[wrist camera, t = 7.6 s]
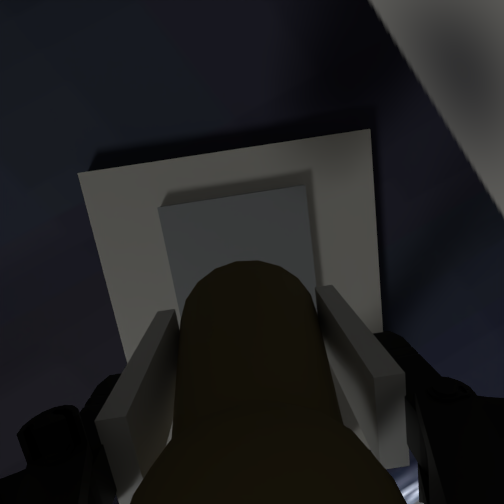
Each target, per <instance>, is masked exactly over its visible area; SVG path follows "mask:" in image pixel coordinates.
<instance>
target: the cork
mask: <svg viewBox="0 0 504 504" xmlns="http://www.w3.org/2000/svg"><path fill="white" fill-rule="evenodd" d="M130 504H407V503H406V501H405V499H404V497H403V496H402V494H401V492H400V490H399V488H398V486H397V484H396V482H395V480H394V479H393V477H392V476H391V475H390V474H389V473H388V471H387V470H386V469H385V468H384V467H383V466H382V464H381V463H380V462H379V461H378V460H377V458H376V457H375V456H374V455H373V454H372V452H371V451H370V450H369V449H368V448H367V447H366V446H365V444H364V443H363V442H362V441H361V440H360V439H359V438H358V436H357V435H356V434H355V433H354V432H353V431H352V430H351V429H350V428H348V427H346V426H344V425H343V421H342V416H341V412H340V408H339V404H338V399H337V395H336V391H335V387H334V382H333V378H332V374H331V370H330V365H329V361H328V357H327V353H326V348H325V344H324V340H323V336H322V331H321V327H320V323H319V319H318V315H317V311H316V308H315V305H314V302H313V299H312V296H311V294H310V293H309V291H308V290H307V289H306V287H305V286H304V285H303V284H302V282H301V281H300V280H299V279H298V278H297V277H296V276H294V275H293V274H291V273H290V272H288V271H287V270H285V269H284V268H282V267H281V266H278V265H274V264H271V263H267V262H263V261H259V260H252V261H235V262H232V263H230V264H227V265H224V266H221V267H218V268H216V269H214V270H213V271H211V272H210V273H209V274H208V275H206V276H205V277H204V278H202V279H201V280H200V281H198V282H197V284H196V285H195V287H194V288H193V290H192V291H191V293H190V294H189V296H188V297H187V299H186V301H185V305H184V308H183V312H182V316H181V320H180V333H179V346H178V360H177V373H176V386H175V399H174V412H173V425H172V438H171V440H170V441H169V443H168V444H167V446H166V447H165V448H164V450H163V451H162V452H161V454H160V455H159V457H158V458H157V459H156V461H155V462H154V464H153V465H152V466H151V468H150V469H149V471H148V472H147V474H146V475H145V477H144V479H143V480H142V482H141V483H140V485H139V486H138V488H137V490H136V491H135V493H134V494H133V496H132V499H131V502H130Z"/></svg>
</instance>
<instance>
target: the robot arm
mask: <svg viewBox="0 0 504 504" xmlns="http://www.w3.org/2000/svg"><path fill="white" fill-rule="evenodd" d="M315 295H316V304H317V313H318V319H319V323H320V327H321V331H322V336H323V340H324V344H325V348H326V353H327V357H328V360H329V362H330V365H331V367H332V369H333V371H334V373H335V375H336V377H337V379H338V381H339V384H340V386H341V388H342V390H343V392H344V394H345V396H346V398H347V400H348V402H349V405H350V407H351V409H352V411H353V413H354V415H355V417H356V419H357V421H358V423H359V426H360V428H361V430H362V432H363V434H364V436H365V438H366V440H367V442H368V445H369V447H370V449H371V451H372V453H373V455H374V456H375V457H376V458H377V460H378V461H379V462H380V463H381V464H382V466H383V467H384V468H385V469H390V468H397V467H403V466H409V448H410V450H411V452H412V453H413V455H414V457H415V458H416V460H417V461H418V481H419V502H422V503H424V504H504V398H494V397H484V396H477V395H476V393H475V392H474V391H473V390H472V389H471V388H470V387H469V386H468V385H466V384H464V383H463V382H461V381H458V380H455V379H452V378H449V377H441V376H440V375H439V374H438V373H437V371H436V370H435V369H434V368H433V367H432V366H431V365H430V364H429V363H428V362H427V361H426V360H425V359H424V358H423V357H422V356H421V355H420V354H418V352H417V351H416V350H415V349H414V348H413V347H411V345H410V344H409V343H408V342H407V341H406V340H405V339H404V338H403V337H401V336H399V335H397V334H395V333H393V332H391V331H386V332H380V333H372V332H371V331H370V330H369V329H368V327H367V326H366V325H365V324H364V323H363V321H362V320H361V319H360V318H359V317H358V315H357V314H356V313H355V312H354V310H353V309H352V308H351V307H350V306H349V304H348V303H347V302H346V301H345V300H344V298H343V297H342V296H341V295H340V294H339V292H338V291H337V290H336V289H335V287H334V286H333V285H326V286H320V287H315ZM179 333H180V329H179V325H178V320H177V315H176V311H175V309H170V310H164V311H157V313H156V315H155V317H154V318H153V320H152V322H151V324H150V325H149V327H148V329H147V331H146V332H145V334H144V336H143V338H142V339H141V341H140V343H139V345H138V346H137V348H136V350H135V351H134V353H133V355H132V357H131V358H130V360H129V362H128V364H127V365H126V367H125V369H124V371H123V372H122V374H115V375H109V376H108V377H107V378H106V379H105V380H104V381H102V382H101V383H100V384H99V385H98V386H97V387H96V389H95V390H94V392H93V393H92V395H91V398H89V399H88V401H87V402H86V404H85V407H84V408H83V409H82V410H81V412H80V413H79V410H78V408H76V407H75V406H73V405H63V406H58V407H54V408H52V409H49V410H47V411H44V412H42V413H40V414H39V415H37V416H35V417H34V418H32V419H31V420H29V421H28V422H27V423H26V424H25V425H24V426H22V428H21V429H20V431H19V432H18V433H17V437H18V440H19V443H20V445H21V448H22V451H23V453H24V456H25V459H26V462H27V467H26V469H25V470H22V471H20V472H17V473H15V474H12V475H10V476H7V477H4V478H2V479H0V504H112V503H113V500H114V497H115V495H117V498H118V501H119V504H130V502H131V499H132V496H133V494H134V493H135V491H136V490H137V488H138V486H139V485H140V483H141V482H142V480H143V479H144V477H145V475H146V474H147V472H148V471H149V469H150V468H151V466H152V465H153V464H154V462H155V461H156V459H157V458H158V457H159V455H160V454H161V452H162V451H163V450H164V448H165V447H166V444H167V441H168V437H169V433H170V429H171V425H172V422H173V412H174V399H175V386H176V373H177V360H178V346H179Z"/></svg>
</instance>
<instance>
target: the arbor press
mask: <svg viewBox="0 0 504 504" xmlns="http://www.w3.org/2000/svg"><path fill="white" fill-rule="evenodd" d="M78 177H79V181H80V184H81V188H82V192H83V196H84V200H85V204H86V207H87V211H88V215H89V219H90V223H91V226H92V230H93V234H94V238H95V242H96V245H97V249H98V253H99V257H100V261H101V265H102V268H103V272H104V276H105V280H106V284H107V287H108V291H109V295H110V299H111V303H112V307H113V310H114V314H115V318H116V322H117V326H118V329H119V333H120V337H121V341H122V345H123V348H124V352H125V356H126V360H127V364H128V362H129V360H130V358H131V357H132V355H133V353H134V351H135V350H136V348H137V346H138V345H139V343H140V341H141V339H142V338H143V336H144V334H145V332H146V331H147V329H148V327H149V325H150V324H151V322H152V320H153V318H154V317H155V315H156V313H157V311H164V310H170V309H175V311H176V315H177V320H178V325H179V329H180V320H181V316H182V312H183V308H184V305H185V301H186V299H187V297H188V296H189V294H190V293H191V291H192V290H193V288H194V287H195V285H196V284H197V282H198V281H200V280H201V279H202V278H204V277H205V276H206V275H208V274H209V273H210V272H211V271H213V270H214V269H216V268H218V267H221V266H224V265H227V264H230V263H232V262H235V261H252V260H259V261H263V262H267V263H271V264H274V265H278V266H281V267H282V268H284V269H285V270H287V271H288V272H290V273H291V274H293V275H294V276H296V277H297V278H298V279H299V280H300V281H301V282H302V284H303V285H304V286H305V287H306V289H307V290H308V291H309V293H310V294H311V296H312V299H313V302H314V305H315V308H316V311H317V304H316V295H315V287H320V286H326V285H333V286H334V287H335V289H336V290H337V291H338V292H339V294H340V295H341V296H342V297H343V298H344V300H345V301H346V302H347V303H348V304H349V306H350V307H351V308H352V309H353V310H354V312H355V313H356V314H357V315H358V317H359V318H360V319H361V320H362V321H363V323H364V324H365V325H366V326H367V327H368V329H369V330H370V331H371V332H372V333H380V332H383V324H382V308H381V292H380V276H379V260H378V244H377V228H376V212H375V196H374V180H373V164H372V148H371V132H370V129H365V130H359V131H352V132H346V133H339V134H333V135H326V136H319V137H313V138H306V139H300V140H293V141H286V142H280V143H273V144H267V145H260V146H254V147H247V148H240V149H234V150H227V151H221V152H214V153H207V154H201V155H194V156H188V157H181V158H175V159H168V160H161V161H155V162H148V163H142V164H135V165H128V166H122V167H115V168H109V169H102V170H95V171H89V172H82V173H78ZM317 315H318V313H317ZM328 361H329V360H328ZM329 365H330V362H329ZM330 370H331V374H332V378H333V382H334V387H335V391H336V395H337V399H338V404H339V408H340V412H341V416H342V421H343V425H344V426H346V427H348V428H350V429H351V430H352V431H353V432H354V433H355V434H356V435H357V436H358V438H359V439H360V440H361V441H362V442H363V443H364V444H365V446H366V447H367V448H368V449H369V450H370V447H369V445H368V442H367V440H366V438H365V436H364V434H363V432H362V430H361V428H360V426H359V423H358V421H357V419H356V417H355V415H354V413H353V411H352V409H351V407H350V405H349V402H348V400H347V398H346V396H345V394H344V392H343V390H342V388H341V386H340V384H339V381H338V379H337V377H336V375H335V373H334V371H333V369H332V367H331V365H330ZM172 425H173V422H172ZM172 425H171V429H170V433H169V437H168V441H167V444H168V443H169V441H170V440H171V438H172ZM167 444H166V446H167Z"/></svg>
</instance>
